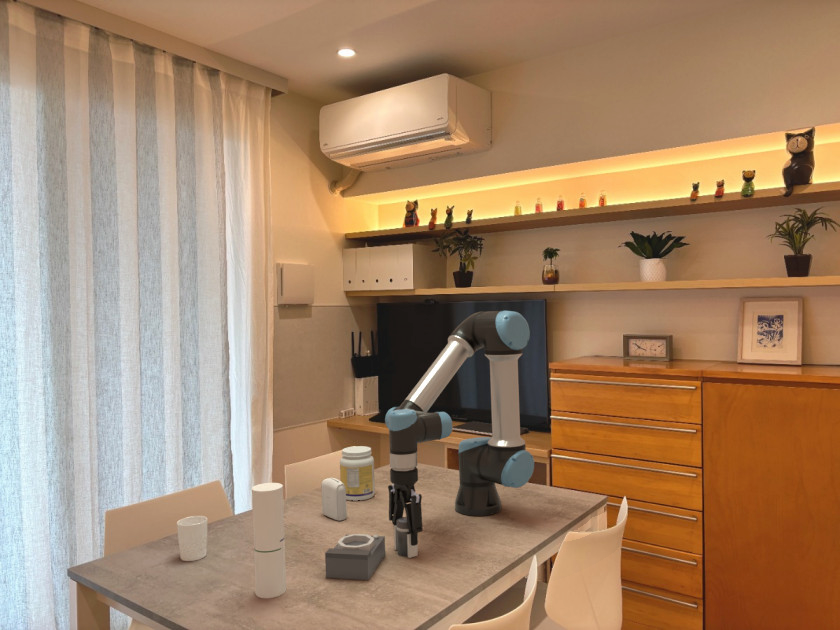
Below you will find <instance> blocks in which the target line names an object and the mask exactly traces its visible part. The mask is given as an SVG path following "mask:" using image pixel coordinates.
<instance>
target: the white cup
mask: <svg viewBox="0 0 840 630" xmlns="http://www.w3.org/2000/svg"><path fill="white" fill-rule="evenodd" d="M176 528H177V540H178V541H177V542H178V548H179V557H180V560H181V561H184V562H194V561H198V560H201V559H203V558H205V557H206V556H207V545H208V517H206V516H204V515H192V516H187V517H183V518H181V519H179V520H178V521H176Z"/></svg>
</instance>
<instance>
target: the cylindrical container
mask: <svg viewBox="0 0 840 630" xmlns="http://www.w3.org/2000/svg"><path fill="white" fill-rule="evenodd" d="M283 487H284V485H283V484H282V483H280V482H265V483H264V482H263V483H259V484H256V485H254V486H252V487H251V499H252V500H251V502H252V503H251V504H252V505H251V506H252V507H251V508H252V530H253V531H252V532H253V534H252V535H253V555H254V557H253V559H254V561H253V562H254V564H253V565H254V584H255V585H254V588H255V589H254V590H255V591H254V593H255V596H256V597H258V598H260V599H273V598H277V597H281V596H283V595H284V594H285V593H286V592H287V574H286V573H287V571H286V549H285V548H286V547H285V546H286V544H285V543H286V542H285V515H284V514H285V513H284V509H285V508H284V488H283Z"/></svg>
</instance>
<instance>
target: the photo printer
mask: <svg viewBox="0 0 840 630" xmlns="http://www.w3.org/2000/svg"><path fill="white" fill-rule="evenodd" d="M321 509H322V510H321V512H322V515H324V516H326V517H328V518H329V519H332V520H335V521H339V522H340V521H344V520H346V519H347V518H348V517H347V515H348V513H347V512H348V511H347V500H346V488H345V485H344V484H343V483H342V482H341V480H340V479H338V478H334V477H328V478H325V479H323V480H322V482H321Z"/></svg>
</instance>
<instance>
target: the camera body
mask: <svg viewBox="0 0 840 630" xmlns="http://www.w3.org/2000/svg"><path fill="white" fill-rule="evenodd" d="M385 556H386V536H385V535H384V536H382V535H379V534H374V535H370V534H367V533H365V534H364V533H363V534H362V533H361V534H360V533H353V534H345V535H344V536H342V537H340V539H338V541H337V542H336V545H335V546H334V548H328V549H327V550H326V552H324V557H325V558H324V559H325V560H324V561H325V578H326V579H338V580H339V579H341V580H355V581H356V580H358V581H369V580H370V578H371V577H372V576H373V574H374V572H375V571H376V570H377V568H378V567H379V565H380V564H381V562H382V560H383V559H384V558H385Z"/></svg>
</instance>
